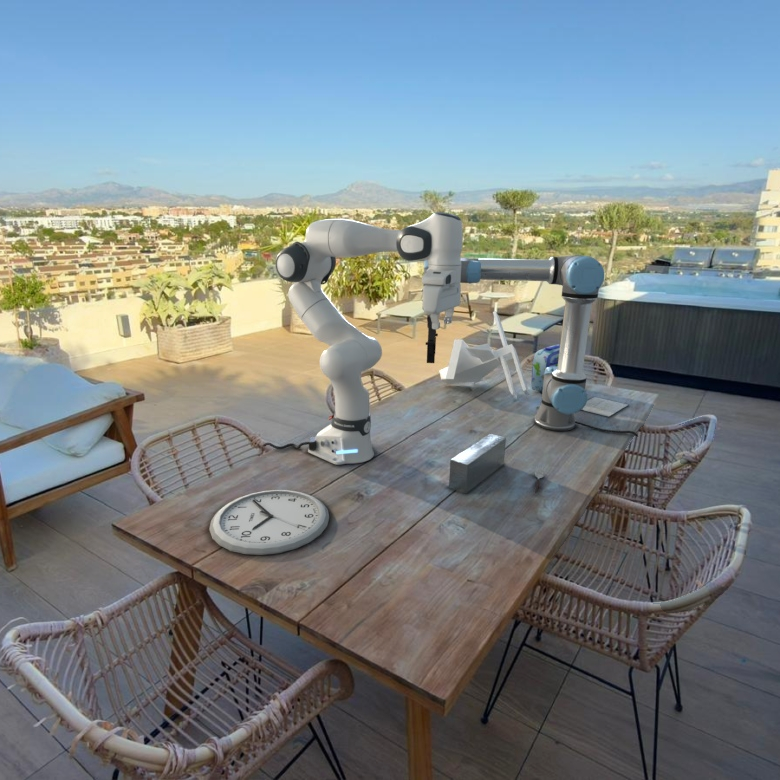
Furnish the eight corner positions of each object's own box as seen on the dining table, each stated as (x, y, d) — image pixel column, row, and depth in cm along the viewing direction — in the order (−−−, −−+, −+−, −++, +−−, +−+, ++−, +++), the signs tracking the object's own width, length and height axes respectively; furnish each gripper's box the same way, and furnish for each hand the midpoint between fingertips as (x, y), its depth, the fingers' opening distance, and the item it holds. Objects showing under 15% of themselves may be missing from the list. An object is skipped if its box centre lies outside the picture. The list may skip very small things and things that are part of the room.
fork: (530, 493, 151) (531, 487, 150) (535, 470, 165) (536, 465, 164) (539, 495, 150) (540, 489, 149) (544, 472, 164) (544, 466, 163)
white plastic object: (461, 429, 252) (437, 405, 227) (444, 352, 274) (420, 323, 250) (535, 404, 240) (518, 377, 215) (510, 326, 262) (492, 293, 237)
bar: (488, 459, 173) (490, 433, 170) (503, 464, 170) (506, 437, 167) (448, 488, 153) (450, 459, 151) (465, 493, 150) (467, 464, 147)
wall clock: (327, 546, 121) (194, 551, 119) (327, 552, 122) (195, 557, 119) (330, 485, 150) (223, 488, 147) (330, 490, 150) (224, 493, 148)
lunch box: (547, 397, 237) (552, 352, 231) (526, 391, 245) (531, 348, 238) (574, 386, 255) (580, 344, 249) (554, 381, 262) (559, 340, 256)
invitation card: (608, 416, 214) (573, 407, 224) (608, 416, 214) (573, 408, 224) (628, 404, 229) (594, 396, 238) (628, 405, 229) (594, 397, 238)
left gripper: (446, 272, 152) (444, 319, 156) (419, 277, 134) (417, 330, 138) (467, 273, 149) (464, 321, 153) (442, 279, 132) (439, 333, 136)
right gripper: (424, 294, 195) (422, 350, 201) (421, 303, 171) (419, 366, 178) (444, 295, 194) (441, 350, 201) (444, 304, 171) (441, 367, 177)
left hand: (441, 326), depth 146 cm, fingers open, 8 cm apart
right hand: (431, 358), depth 189 cm, fingers open, 13 cm apart
